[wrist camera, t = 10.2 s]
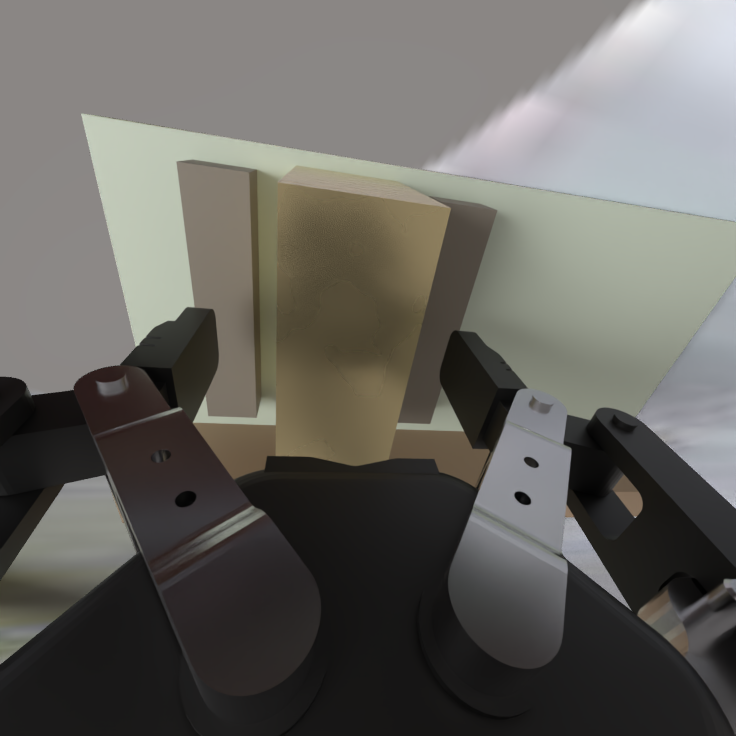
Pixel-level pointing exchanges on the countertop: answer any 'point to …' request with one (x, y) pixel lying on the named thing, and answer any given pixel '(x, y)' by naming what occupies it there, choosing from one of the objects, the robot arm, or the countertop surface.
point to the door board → (525, 291)
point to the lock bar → (349, 309)
